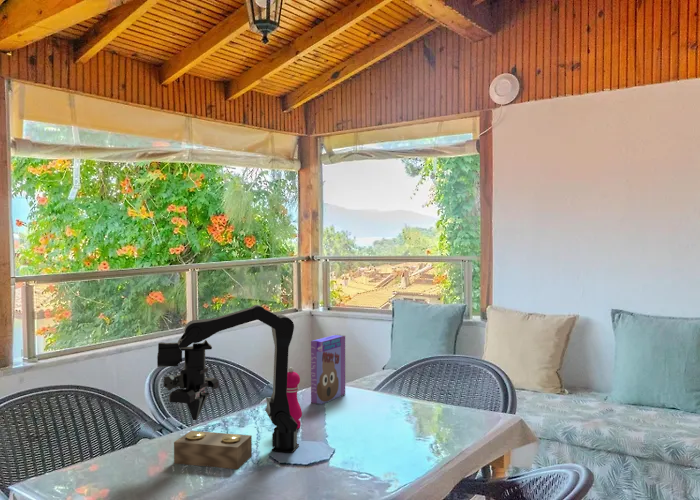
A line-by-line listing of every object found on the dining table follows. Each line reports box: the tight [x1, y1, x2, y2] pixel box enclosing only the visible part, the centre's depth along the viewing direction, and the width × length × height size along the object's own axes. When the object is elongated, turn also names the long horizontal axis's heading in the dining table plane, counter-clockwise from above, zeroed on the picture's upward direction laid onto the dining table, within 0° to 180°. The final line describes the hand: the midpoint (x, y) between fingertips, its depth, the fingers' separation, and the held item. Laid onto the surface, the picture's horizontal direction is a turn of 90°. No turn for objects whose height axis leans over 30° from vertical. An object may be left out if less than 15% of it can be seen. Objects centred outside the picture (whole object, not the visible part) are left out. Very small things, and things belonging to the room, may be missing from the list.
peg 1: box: [185, 431, 205, 440], centre depth 170 cm, size 5×5×6 cm
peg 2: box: [222, 433, 241, 443], centre depth 168 cm, size 5×5×6 cm
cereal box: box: [310, 334, 346, 406], centre depth 234 cm, size 17×5×24 cm, turn 149°
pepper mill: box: [287, 366, 303, 430], centre depth 198 cm, size 7×7×20 cm
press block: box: [173, 430, 253, 470], centre depth 169 cm, size 19×10×6 cm, turn 77°
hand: (194, 419), depth 170 cm, fingers closed
